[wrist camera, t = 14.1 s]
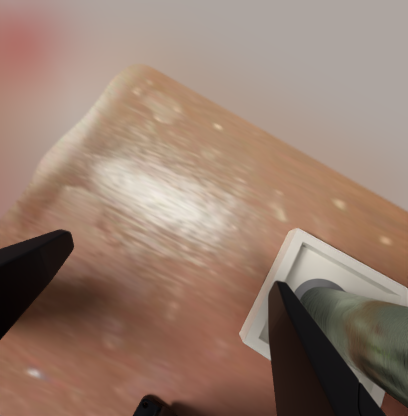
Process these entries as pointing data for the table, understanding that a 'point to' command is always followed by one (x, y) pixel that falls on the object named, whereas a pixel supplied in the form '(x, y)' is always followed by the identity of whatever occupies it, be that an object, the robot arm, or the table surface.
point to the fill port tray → (318, 277)
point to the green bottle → (365, 335)
